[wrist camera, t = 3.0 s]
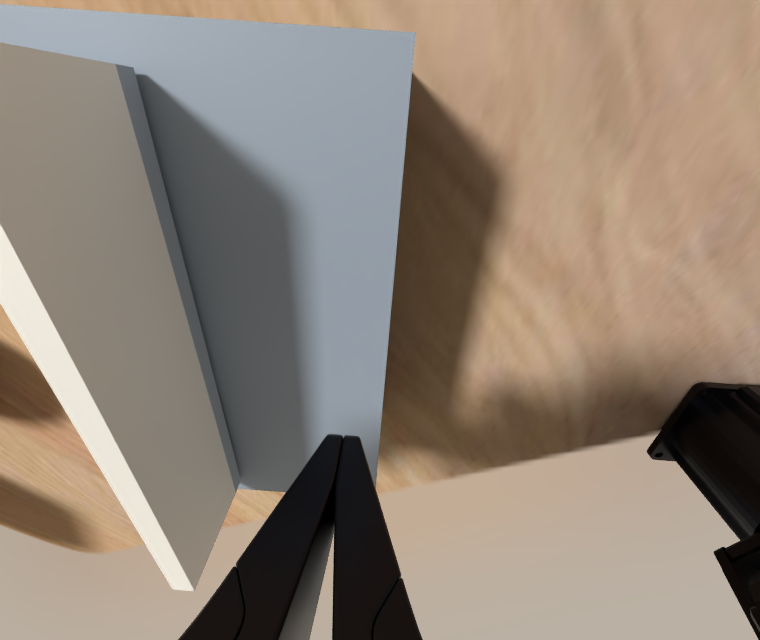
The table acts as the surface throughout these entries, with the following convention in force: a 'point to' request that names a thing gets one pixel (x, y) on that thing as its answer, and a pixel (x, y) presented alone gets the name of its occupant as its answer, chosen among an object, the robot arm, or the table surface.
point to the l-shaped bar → (111, 298)
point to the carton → (271, 207)
